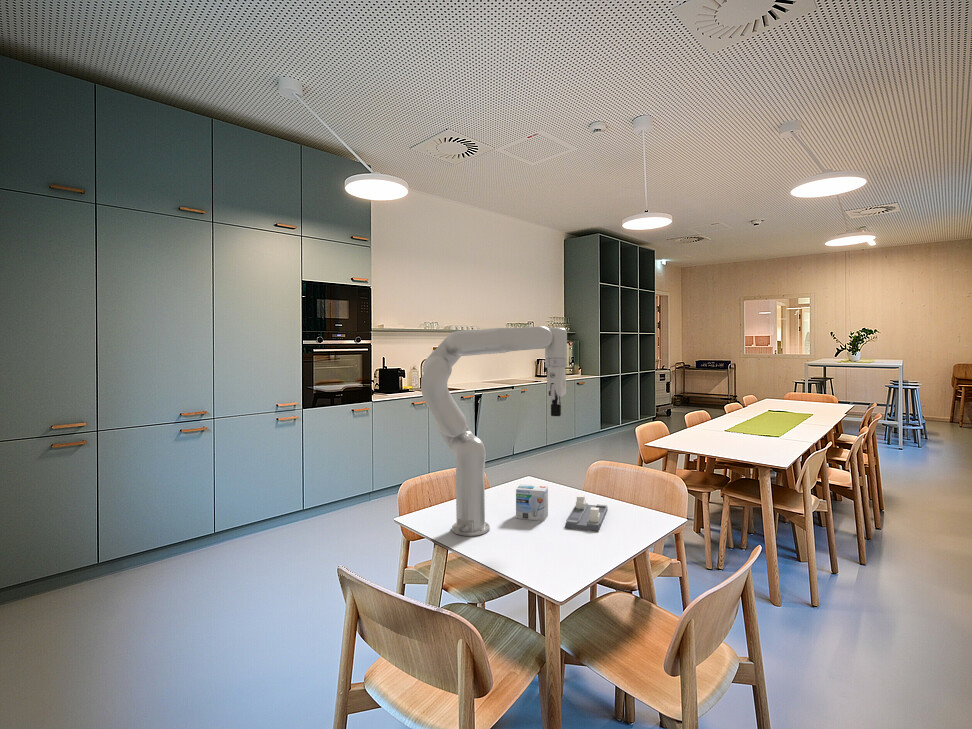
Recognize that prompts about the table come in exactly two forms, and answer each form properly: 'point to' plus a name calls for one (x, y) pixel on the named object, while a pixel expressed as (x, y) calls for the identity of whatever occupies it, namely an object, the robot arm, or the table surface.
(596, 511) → the tab
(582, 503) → the tab
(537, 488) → the light bulb box
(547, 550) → the table surface
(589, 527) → the switch board
